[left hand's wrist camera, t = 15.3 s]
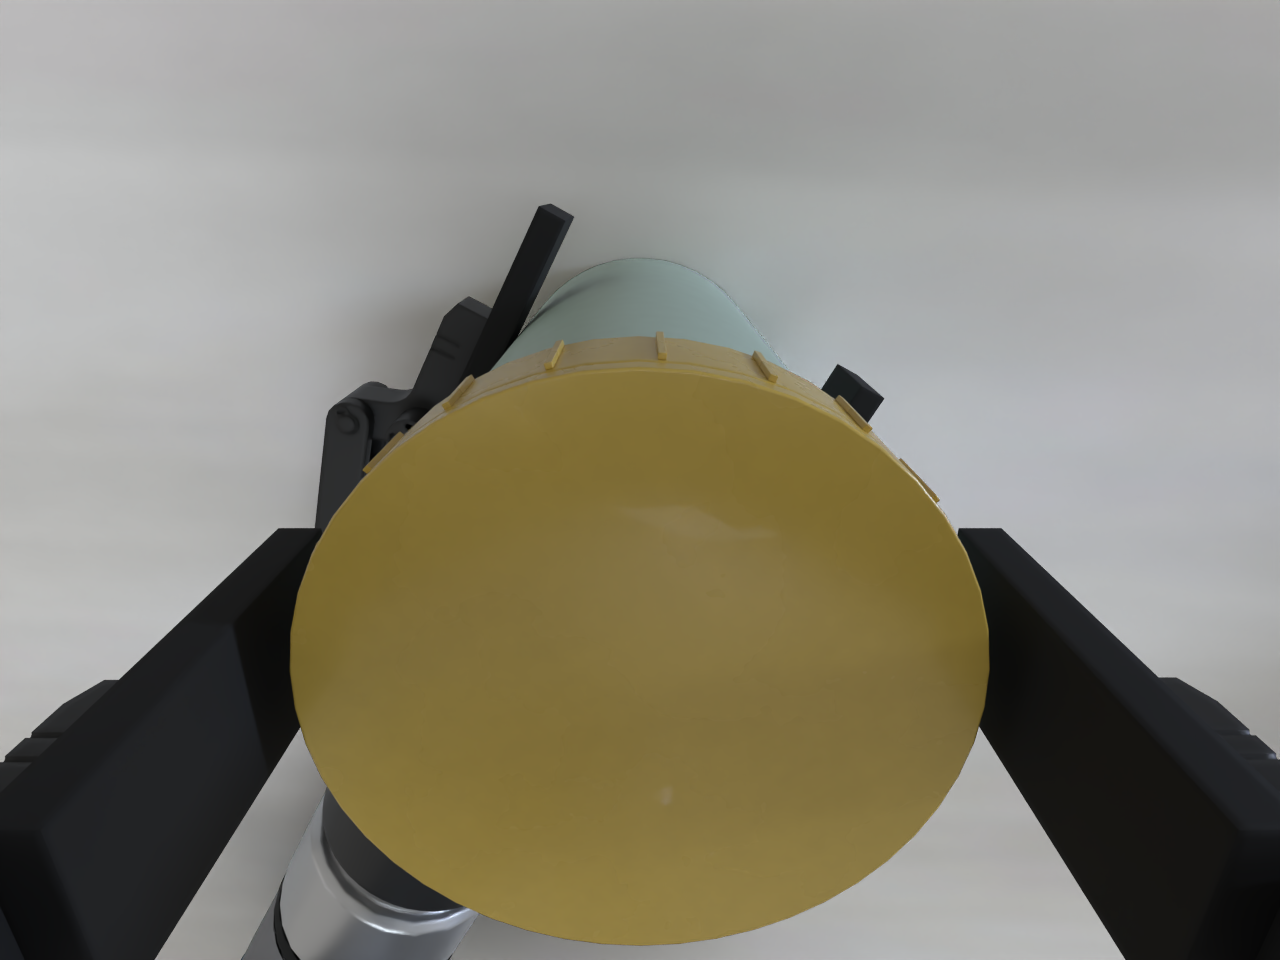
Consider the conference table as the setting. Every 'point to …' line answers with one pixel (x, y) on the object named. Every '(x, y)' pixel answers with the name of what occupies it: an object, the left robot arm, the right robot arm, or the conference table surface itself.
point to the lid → (639, 645)
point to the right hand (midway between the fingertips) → (714, 299)
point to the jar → (639, 310)
